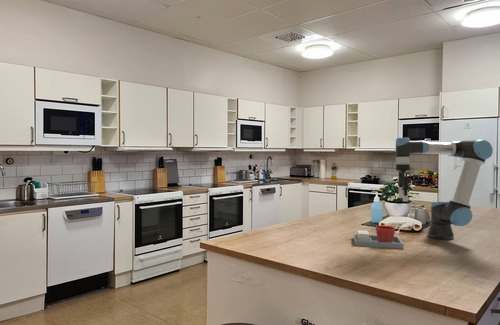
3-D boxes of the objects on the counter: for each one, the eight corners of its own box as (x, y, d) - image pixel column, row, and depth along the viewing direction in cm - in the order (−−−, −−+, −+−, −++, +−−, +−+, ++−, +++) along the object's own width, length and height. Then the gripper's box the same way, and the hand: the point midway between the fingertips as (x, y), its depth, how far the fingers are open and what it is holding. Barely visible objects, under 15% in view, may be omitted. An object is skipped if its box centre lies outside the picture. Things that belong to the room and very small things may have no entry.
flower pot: (399, 245, 212) (399, 228, 211) (384, 246, 207) (384, 229, 207) (385, 240, 221) (386, 224, 221) (371, 242, 217) (371, 226, 217)
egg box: (357, 239, 223) (357, 230, 223) (367, 240, 222) (367, 230, 221) (358, 243, 213) (358, 233, 213) (368, 244, 212) (369, 234, 212)
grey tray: (353, 239, 227) (353, 233, 227) (398, 242, 221) (398, 236, 221) (354, 246, 210) (354, 240, 210) (403, 250, 204) (403, 243, 204)
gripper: (392, 163, 230) (393, 196, 230) (399, 164, 205) (400, 202, 206) (405, 162, 228) (406, 196, 229) (414, 164, 204) (414, 202, 204)
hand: (403, 199), depth 217 cm, fingers open, 13 cm apart
